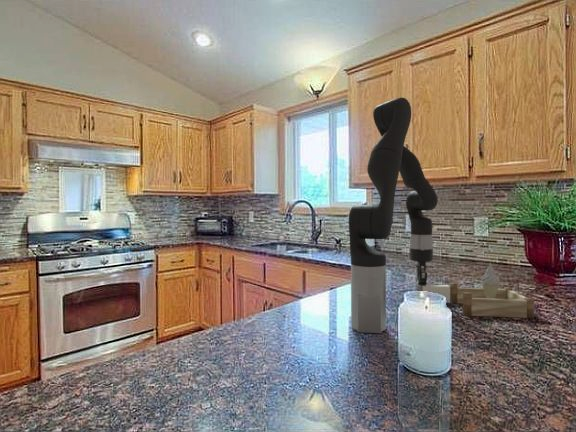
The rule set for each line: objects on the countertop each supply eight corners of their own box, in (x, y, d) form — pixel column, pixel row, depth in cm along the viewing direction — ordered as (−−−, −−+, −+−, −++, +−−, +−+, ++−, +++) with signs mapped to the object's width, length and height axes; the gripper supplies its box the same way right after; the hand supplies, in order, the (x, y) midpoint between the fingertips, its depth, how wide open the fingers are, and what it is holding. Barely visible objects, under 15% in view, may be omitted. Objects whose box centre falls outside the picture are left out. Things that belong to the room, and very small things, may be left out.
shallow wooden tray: (535, 318, 103) (536, 296, 103) (464, 315, 106) (464, 294, 106) (510, 303, 119) (510, 284, 119) (448, 301, 123) (448, 282, 122)
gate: (446, 300, 122) (447, 284, 122) (450, 301, 120) (450, 285, 120) (416, 301, 121) (417, 285, 121) (419, 302, 119) (419, 286, 119)
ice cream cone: (481, 310, 112) (481, 262, 111) (481, 306, 116) (481, 260, 116) (500, 312, 109) (500, 263, 109) (499, 308, 114) (499, 261, 114)
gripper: (408, 245, 133) (408, 291, 133) (411, 249, 120) (411, 300, 120) (430, 245, 131) (430, 292, 131) (435, 249, 118) (435, 301, 118)
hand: (421, 296), depth 126 cm, fingers closed
